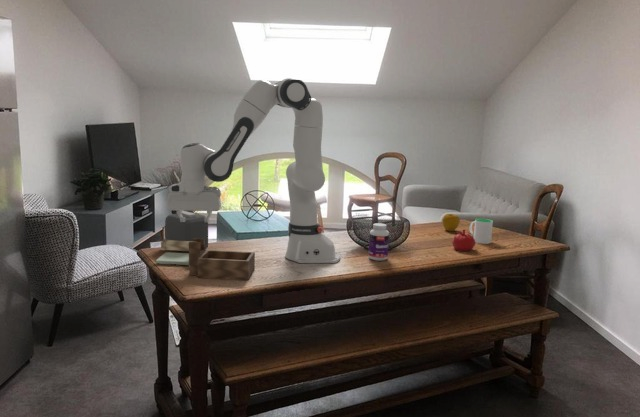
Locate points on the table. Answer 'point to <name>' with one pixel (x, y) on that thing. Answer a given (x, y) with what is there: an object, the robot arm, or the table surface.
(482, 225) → the mug
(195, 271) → the chest
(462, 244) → the pomegranate
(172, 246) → the bar
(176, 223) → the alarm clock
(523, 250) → the table surface
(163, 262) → the lid
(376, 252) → the pill bottle
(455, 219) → the apple
